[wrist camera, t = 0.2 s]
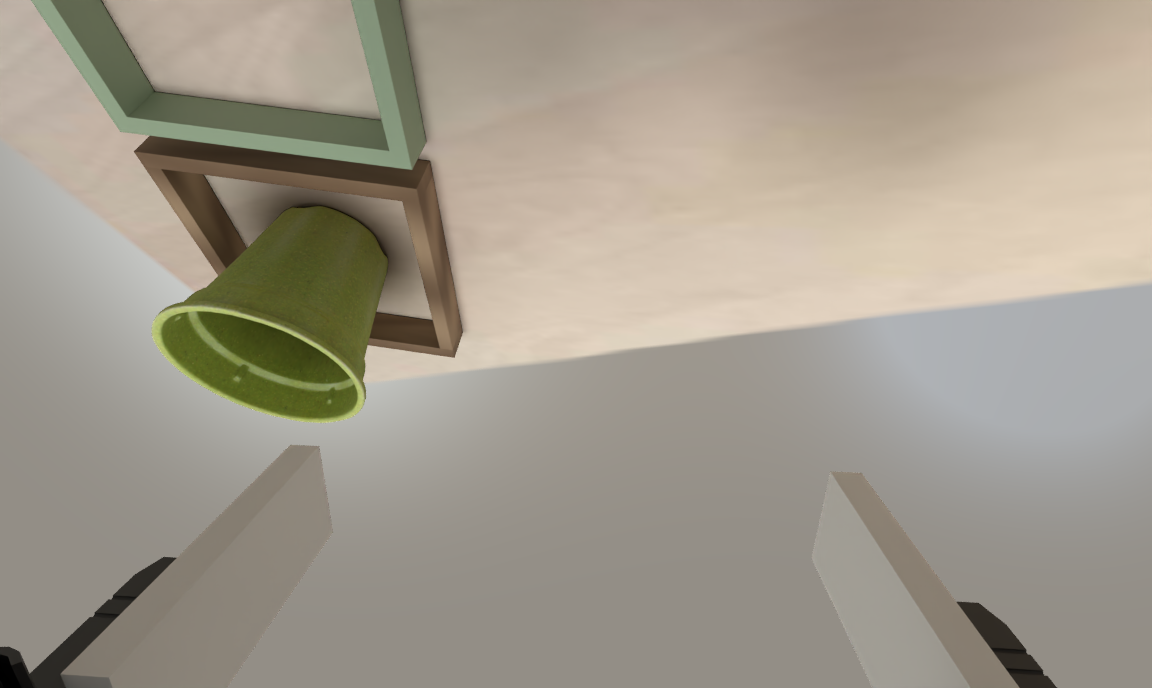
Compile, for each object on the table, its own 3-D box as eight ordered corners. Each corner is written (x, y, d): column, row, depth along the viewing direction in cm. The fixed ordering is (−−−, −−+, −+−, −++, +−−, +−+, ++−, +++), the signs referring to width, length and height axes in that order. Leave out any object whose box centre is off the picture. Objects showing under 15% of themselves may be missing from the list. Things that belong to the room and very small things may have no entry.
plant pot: (259, 140, 26) (150, 274, 21) (444, 239, 30) (388, 374, 25) (237, 250, 33) (150, 372, 28) (389, 320, 37) (337, 440, 31)
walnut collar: (159, 126, 26) (134, 151, 25) (429, 161, 26) (416, 189, 25) (268, 304, 37) (254, 328, 36) (462, 332, 36) (454, 357, 35)
